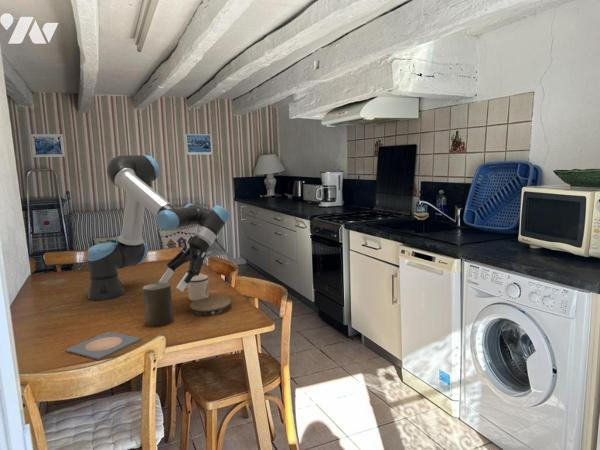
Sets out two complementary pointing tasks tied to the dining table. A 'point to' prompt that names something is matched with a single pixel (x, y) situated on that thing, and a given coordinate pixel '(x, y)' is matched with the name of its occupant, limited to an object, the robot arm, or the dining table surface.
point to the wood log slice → (210, 306)
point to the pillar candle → (158, 304)
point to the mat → (103, 345)
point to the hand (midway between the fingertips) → (170, 286)
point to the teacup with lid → (198, 287)
